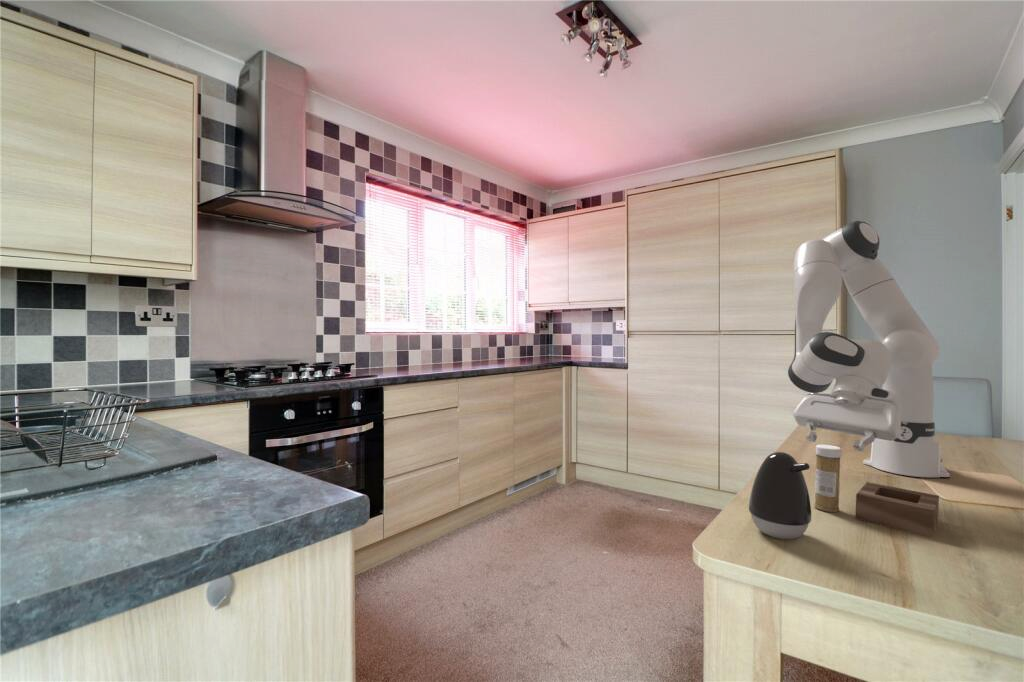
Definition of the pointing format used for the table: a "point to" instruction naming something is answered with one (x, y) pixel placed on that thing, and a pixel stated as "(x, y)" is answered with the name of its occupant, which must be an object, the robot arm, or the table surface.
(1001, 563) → the table surface
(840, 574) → the table surface
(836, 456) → the sprinkles bottle
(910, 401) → the robot arm
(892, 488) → the spice caddy
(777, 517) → the pump dispenser
